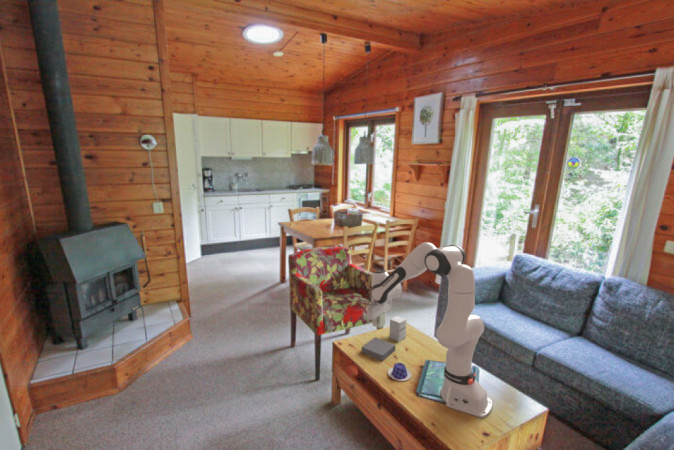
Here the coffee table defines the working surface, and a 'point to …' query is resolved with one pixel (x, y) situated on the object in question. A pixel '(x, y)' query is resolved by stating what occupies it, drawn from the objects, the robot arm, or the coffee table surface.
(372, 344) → the base block
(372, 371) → the coffee table surface
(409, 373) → the pudding
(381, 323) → the sage block
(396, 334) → the supplement box
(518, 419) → the coffee table surface
